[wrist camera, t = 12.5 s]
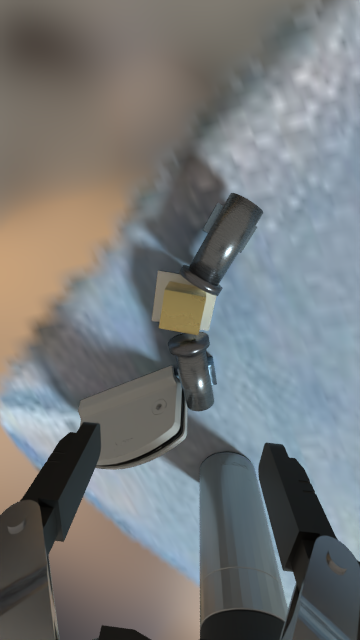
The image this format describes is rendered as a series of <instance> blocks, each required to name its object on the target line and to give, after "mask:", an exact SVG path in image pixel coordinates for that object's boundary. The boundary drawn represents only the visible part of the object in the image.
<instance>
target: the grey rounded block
mask: <svg viewBox="0 0 360 640" xmlns="http://www.w3.org/2000/svg"><path fill="white" fill-rule="evenodd" d="M78 412H79V415H80V418H81V424H80V426H81V425H82V423H83V422H91V423H99V424H100V430H101V452H100V456H99V460H98V462H97V465H96V467H95V468H101V469H125V468H130V467H134V466H138V465H141V464H144V463H146V462H149V461H151V460H153V459H155V458H157V457H159V456H161V455H163V454H165V453H166V452H168V451H170V450H171V449H173V448H174V447H176V446H177V445H178V444H179V443H181V442H182V441H183V440H184V439H185V438H186V436H187V404H186V399H185V395H184V390H183V388H181V384H180V380H179V379H178V378H177V377H176V376H175V374H174V367H173V366H172V365H171V366H169V367H166V368H163V369H161V370H158V371H156V372H153V373H150V374H148V375H145V376H143V377H140V378H137V379H135V380H132V381H130V382H127V383H124V384H122V385H119V386H117V387H114V388H111V389H109V390H106V391H104V392H101V393H98V394H96V395H93V396H91V397H88V398H85V399H83V400H81V402H80V405H79V409H78Z"/></svg>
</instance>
